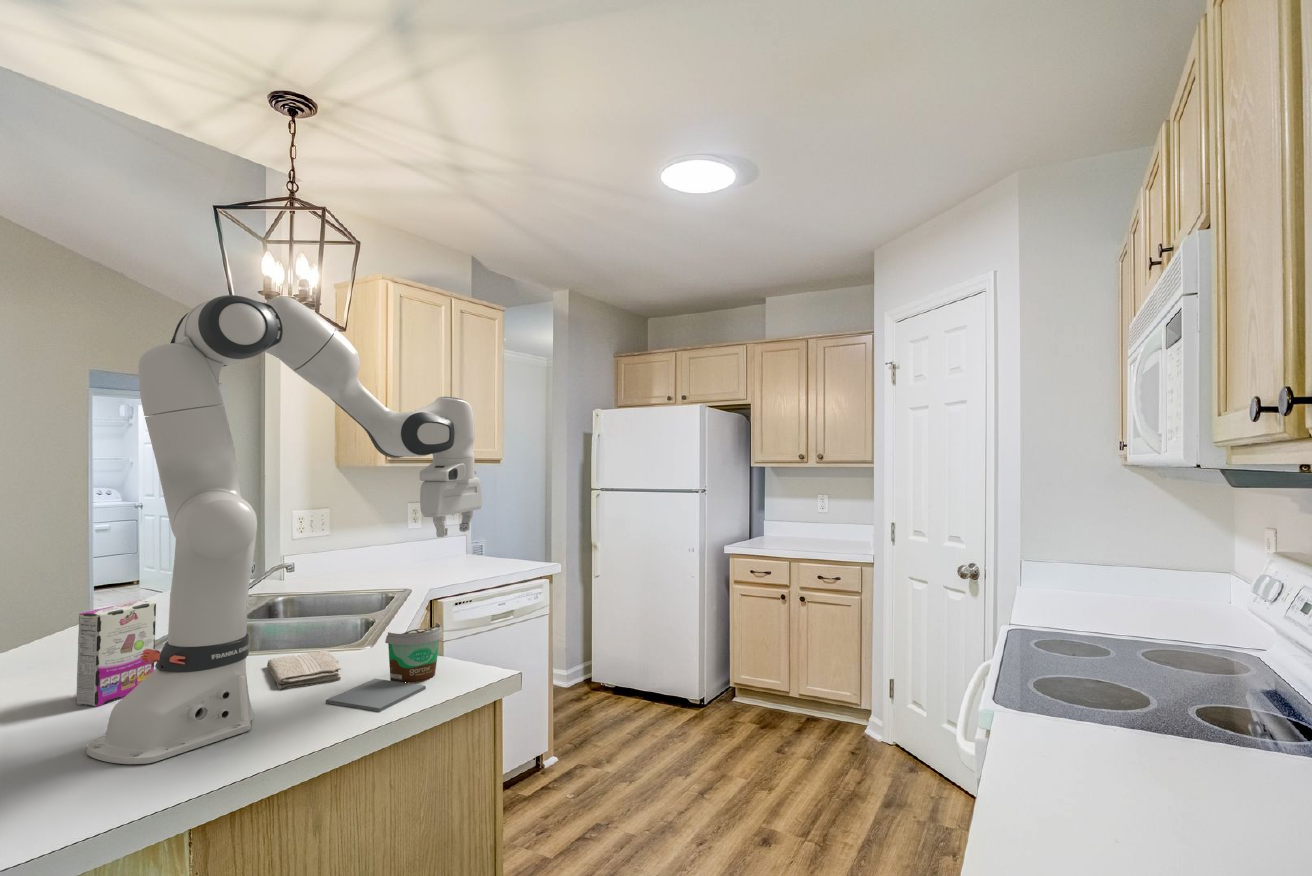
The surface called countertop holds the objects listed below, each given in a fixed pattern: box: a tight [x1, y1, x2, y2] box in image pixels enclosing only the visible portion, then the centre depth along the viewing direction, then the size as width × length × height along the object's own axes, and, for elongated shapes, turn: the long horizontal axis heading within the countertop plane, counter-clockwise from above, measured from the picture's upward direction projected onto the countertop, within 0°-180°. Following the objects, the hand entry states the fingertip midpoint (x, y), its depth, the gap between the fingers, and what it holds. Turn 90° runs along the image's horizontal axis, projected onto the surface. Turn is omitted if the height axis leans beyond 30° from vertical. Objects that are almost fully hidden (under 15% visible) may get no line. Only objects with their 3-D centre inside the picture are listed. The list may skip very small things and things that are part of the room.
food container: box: [384, 622, 444, 684], centre depth 139 cm, size 12×6×10 cm, turn 143°
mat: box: [325, 678, 427, 712], centre depth 128 cm, size 13×12×1 cm
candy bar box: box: [75, 600, 157, 708], centre depth 125 cm, size 11×5×16 cm, turn 168°
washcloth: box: [266, 650, 342, 690], centre depth 140 cm, size 12×18×3 cm, turn 38°
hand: (453, 534), depth 148 cm, fingers open, 8 cm apart
